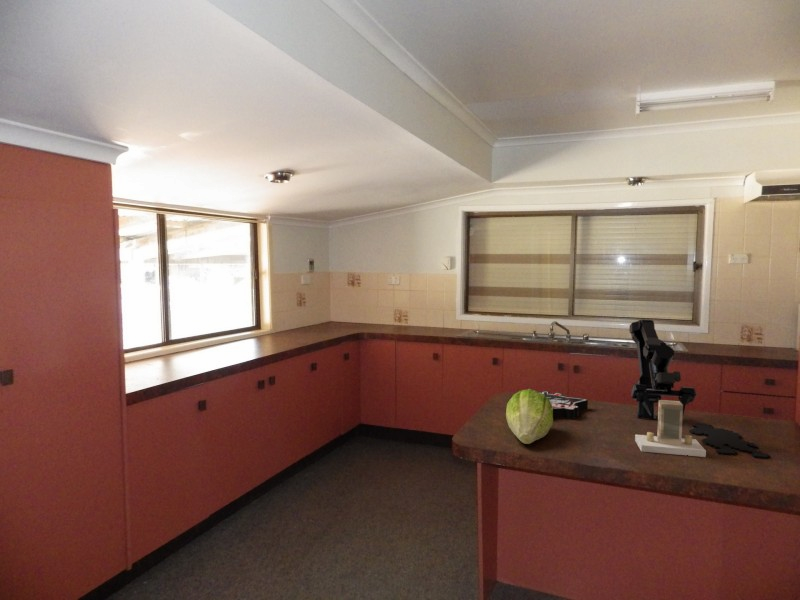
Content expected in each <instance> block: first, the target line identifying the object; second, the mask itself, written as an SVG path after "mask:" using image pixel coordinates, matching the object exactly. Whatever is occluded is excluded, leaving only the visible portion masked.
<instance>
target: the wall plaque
mask: <svg viewBox="0 0 800 600" xmlns="http://www.w3.org/2000/svg"><path fill="white" fill-rule="evenodd" d="M538 392H539V393H541V394H543V395H545V396H546V397H547V398H548V399H549V400H550V403H551V405H552V408H553V420H554V419H567V420H574V419H576V418H578V417H579V412H583V411H587V410H588V408H589V407H588V405H589V400H588V398H587V399H586V398H578V397H572V396H571V397H570V396H565V395H564V394H563V393H561V392H554V393H551V392H550V391H549V390H547V391H543V390H542V391H538Z"/></svg>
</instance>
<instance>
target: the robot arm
mask: <svg viewBox="0 0 800 600" xmlns="http://www.w3.org/2000/svg"><path fill="white" fill-rule="evenodd" d="M655 326H656V325H655V322H654V320H652V319H639V320H638V321H634V322H631V323H630V325H629V328H628V329H629V330H628V331H629V334H630V335H631V340H632V341H633V342H634V343H635V344H636V350H637V351H636V352H637V359H638V368H639V379H638V381H637V383H634V384H633V385H632V389H631V391H630V393H631V394H630V395H631V399H633V400H634V401H635V402H636V403H637V411H636V412H635V415H636V418H637V419H643V420H647V419H648V420H657V416H656V415H655V408H656V406H655V405H656V404H657V403H658V404H659V400H662V397H678V401H680V402H681V403H682V404H683V415H682V419H683V418H684V416H685V415H684V413H685V410H686V405H689V404H690V403H692V402H694V399H695V398H696V395H697V392H696V389H695V388H694V387H692V386H681V387H680V388H679V390H674V389H673V388H674V387H675V385H674V384H676V383H680V382H681V380H682V377H681V376H682V375H681V371H676V370H675V371H673V372H669V368H668V367H670V365H671V363H672V361H673V359H674V355H675V349H673V348H672V347H671V346H669V345H667V342H665V341H663V340H662V339H660V338H659V336H658V333H657V331H656V329H655Z"/></svg>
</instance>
